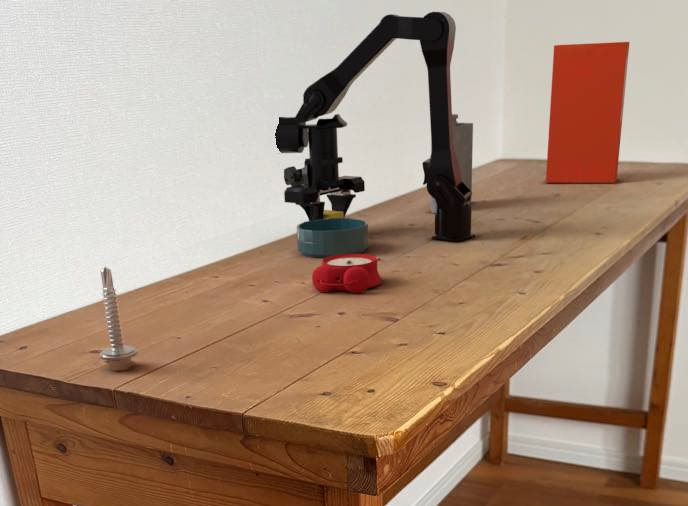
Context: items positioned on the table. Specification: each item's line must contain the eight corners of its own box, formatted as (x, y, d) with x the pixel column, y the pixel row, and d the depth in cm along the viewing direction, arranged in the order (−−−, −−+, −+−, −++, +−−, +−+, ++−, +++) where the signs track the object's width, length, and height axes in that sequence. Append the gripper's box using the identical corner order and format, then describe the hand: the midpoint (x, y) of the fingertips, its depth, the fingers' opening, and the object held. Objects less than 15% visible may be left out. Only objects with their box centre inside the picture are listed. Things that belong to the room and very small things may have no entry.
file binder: (549, 179, 253) (558, 44, 238) (616, 179, 247) (629, 41, 232) (545, 183, 246) (553, 45, 231) (614, 183, 241) (627, 42, 225)
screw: (95, 372, 122) (113, 361, 126) (128, 374, 120) (145, 363, 124) (78, 270, 116) (97, 262, 120) (113, 271, 114) (131, 262, 118)
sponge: (344, 236, 195) (343, 211, 193) (330, 240, 192) (329, 214, 190) (323, 234, 199) (322, 209, 196) (309, 237, 196) (308, 212, 194)
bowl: (382, 248, 183) (382, 221, 181) (336, 261, 174) (335, 233, 172) (330, 241, 191) (329, 215, 189) (284, 254, 183) (282, 227, 180)
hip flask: (440, 213, 214) (441, 117, 205) (424, 212, 216) (425, 117, 207) (473, 202, 225) (475, 110, 216) (458, 201, 227) (460, 111, 218)
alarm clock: (389, 254, 160) (365, 252, 146) (387, 292, 161) (364, 294, 148) (330, 253, 163) (302, 251, 149) (330, 291, 164) (301, 292, 151)
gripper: (324, 146, 199) (328, 223, 206) (261, 156, 187) (267, 237, 194) (365, 147, 192) (367, 227, 199) (302, 158, 180) (307, 242, 187)
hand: (327, 233), depth 195 cm, fingers open, 6 cm apart
